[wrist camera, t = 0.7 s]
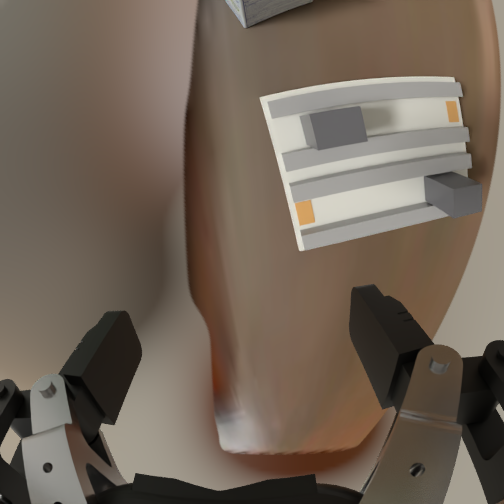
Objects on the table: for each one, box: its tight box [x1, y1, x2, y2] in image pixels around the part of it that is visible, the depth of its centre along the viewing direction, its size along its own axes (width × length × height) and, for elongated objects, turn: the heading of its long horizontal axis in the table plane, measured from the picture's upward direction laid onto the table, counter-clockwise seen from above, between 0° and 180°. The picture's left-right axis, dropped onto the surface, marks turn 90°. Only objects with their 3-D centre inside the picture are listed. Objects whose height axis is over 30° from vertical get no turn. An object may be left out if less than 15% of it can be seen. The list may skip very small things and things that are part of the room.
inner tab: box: [299, 106, 368, 151], centre depth 21 cm, size 3×4×6 cm
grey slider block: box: [424, 171, 482, 218], centre depth 22 cm, size 3×4×6 cm
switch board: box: [260, 77, 472, 251], centre depth 25 cm, size 16×22×4 cm
